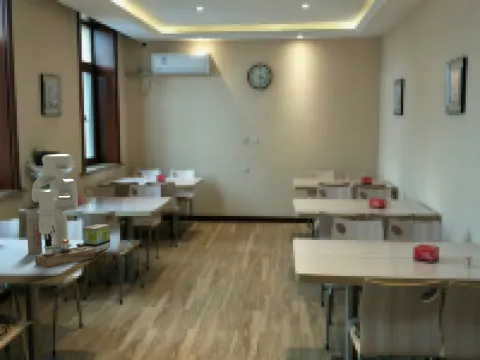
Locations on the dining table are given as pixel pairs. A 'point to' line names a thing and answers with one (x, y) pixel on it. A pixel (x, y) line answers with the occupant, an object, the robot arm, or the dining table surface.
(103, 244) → the tea box
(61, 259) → the socket block
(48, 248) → the plug
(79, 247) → the plug
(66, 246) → the plug mid
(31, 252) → the thermos bottle
